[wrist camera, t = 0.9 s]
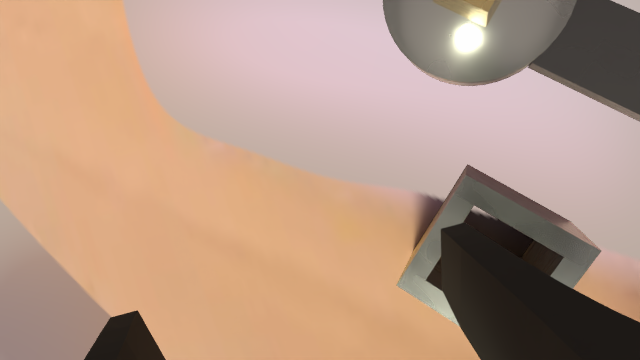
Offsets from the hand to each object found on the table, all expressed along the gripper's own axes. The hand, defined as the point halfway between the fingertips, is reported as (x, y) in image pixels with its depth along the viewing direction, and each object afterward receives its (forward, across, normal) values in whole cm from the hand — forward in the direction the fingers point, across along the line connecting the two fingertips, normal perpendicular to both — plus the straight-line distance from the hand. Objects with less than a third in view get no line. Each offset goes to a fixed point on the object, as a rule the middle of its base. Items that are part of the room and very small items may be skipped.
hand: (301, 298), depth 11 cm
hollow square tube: (+7, -9, +7) cm, 13 cm away
